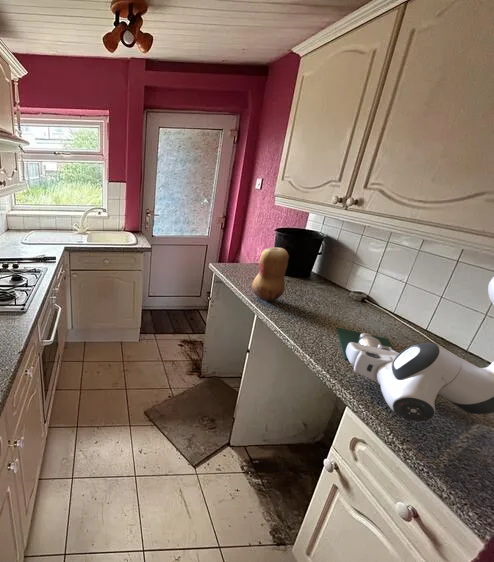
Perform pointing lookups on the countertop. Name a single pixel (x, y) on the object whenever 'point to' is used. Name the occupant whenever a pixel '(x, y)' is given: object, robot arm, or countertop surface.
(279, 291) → the butternut squash
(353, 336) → the rubber mat
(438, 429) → the countertop surface
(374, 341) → the plastic bottle
